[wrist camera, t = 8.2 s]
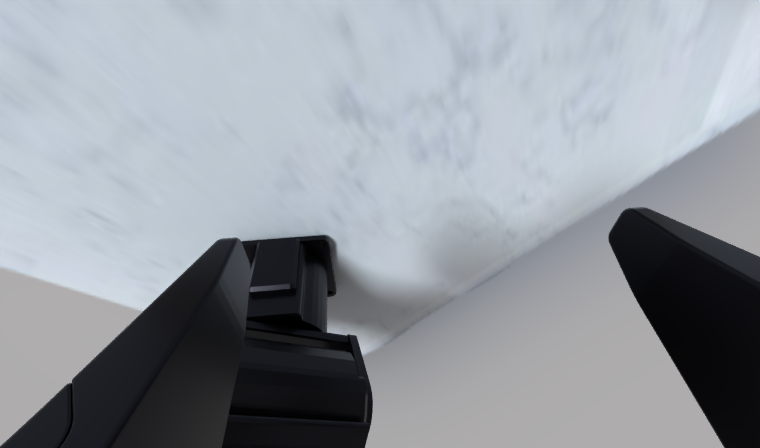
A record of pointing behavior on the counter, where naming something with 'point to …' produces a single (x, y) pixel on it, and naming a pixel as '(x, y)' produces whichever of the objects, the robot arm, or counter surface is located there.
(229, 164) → the counter surface
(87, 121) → the counter surface
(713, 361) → the robot arm
